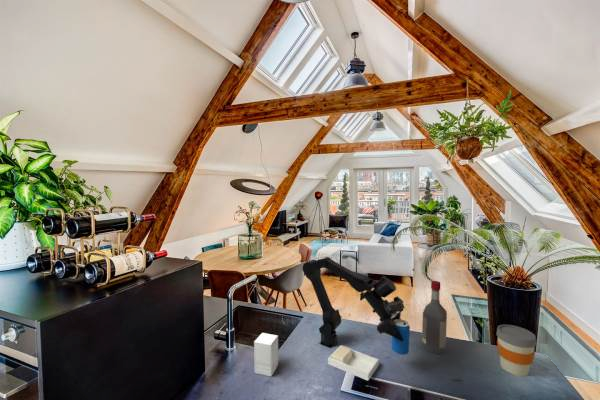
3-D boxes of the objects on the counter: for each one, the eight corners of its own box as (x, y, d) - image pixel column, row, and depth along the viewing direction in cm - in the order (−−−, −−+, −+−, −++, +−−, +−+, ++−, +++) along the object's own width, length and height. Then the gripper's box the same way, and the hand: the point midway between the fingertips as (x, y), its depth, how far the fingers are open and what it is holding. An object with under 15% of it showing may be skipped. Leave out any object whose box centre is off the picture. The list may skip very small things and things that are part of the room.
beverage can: (410, 357, 110) (411, 327, 109) (392, 355, 111) (393, 325, 110) (407, 348, 116) (408, 319, 115) (390, 346, 117) (391, 317, 116)
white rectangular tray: (328, 365, 115) (328, 357, 115) (340, 352, 124) (340, 345, 124) (368, 382, 105) (368, 374, 105) (378, 366, 114) (378, 359, 114)
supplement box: (278, 365, 114) (278, 335, 114) (271, 377, 107) (271, 345, 107) (262, 361, 117) (262, 332, 116) (253, 373, 110) (253, 341, 109)
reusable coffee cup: (541, 382, 105) (543, 343, 104) (501, 375, 109) (503, 337, 108) (526, 362, 117) (527, 327, 116) (490, 356, 121) (492, 322, 120)
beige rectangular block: (332, 363, 115) (332, 354, 115) (341, 353, 122) (341, 345, 122) (343, 367, 112) (343, 359, 112) (352, 357, 119) (352, 349, 119)
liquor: (446, 345, 129) (448, 281, 127) (444, 356, 121) (446, 287, 119) (424, 339, 134) (426, 277, 132) (421, 349, 126) (422, 283, 124)
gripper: (386, 300, 106) (416, 338, 101) (396, 285, 122) (423, 316, 117) (365, 315, 110) (393, 352, 105) (377, 299, 126) (402, 330, 122)
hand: (404, 336), depth 112 cm, fingers closed on beverage can, 6 cm apart
